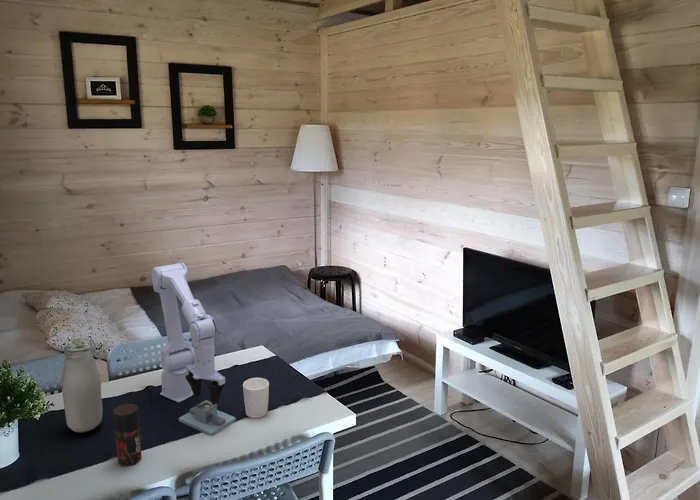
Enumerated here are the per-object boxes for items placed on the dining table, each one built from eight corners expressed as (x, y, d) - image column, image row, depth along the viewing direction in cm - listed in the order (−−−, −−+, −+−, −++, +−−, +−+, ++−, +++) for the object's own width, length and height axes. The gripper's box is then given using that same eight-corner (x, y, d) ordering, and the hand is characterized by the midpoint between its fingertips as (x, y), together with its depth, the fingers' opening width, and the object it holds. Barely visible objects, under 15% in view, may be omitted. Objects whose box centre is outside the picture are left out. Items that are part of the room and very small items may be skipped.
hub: (195, 419, 166) (194, 406, 165) (206, 412, 170) (206, 399, 169) (206, 424, 164) (205, 411, 163) (217, 417, 168) (216, 404, 166)
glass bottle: (76, 442, 155) (65, 351, 148) (61, 428, 162) (51, 339, 155) (110, 428, 162) (102, 340, 155) (95, 415, 169) (86, 330, 162)
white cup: (265, 420, 168) (264, 391, 166) (240, 418, 169) (239, 388, 167) (272, 407, 176) (271, 378, 173) (248, 404, 177) (247, 376, 174)
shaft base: (178, 421, 167) (177, 406, 166) (203, 406, 175) (203, 392, 174) (211, 436, 160) (210, 420, 158) (236, 420, 168) (235, 405, 167)
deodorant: (122, 452, 151) (117, 403, 147) (144, 452, 152) (140, 403, 148) (114, 466, 145) (110, 415, 142) (138, 465, 146) (133, 415, 142)
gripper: (176, 356, 163) (179, 397, 166) (211, 369, 155) (213, 412, 159) (195, 348, 168) (197, 388, 172) (229, 360, 161) (231, 402, 164)
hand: (206, 399), depth 166 cm, fingers open, 7 cm apart
